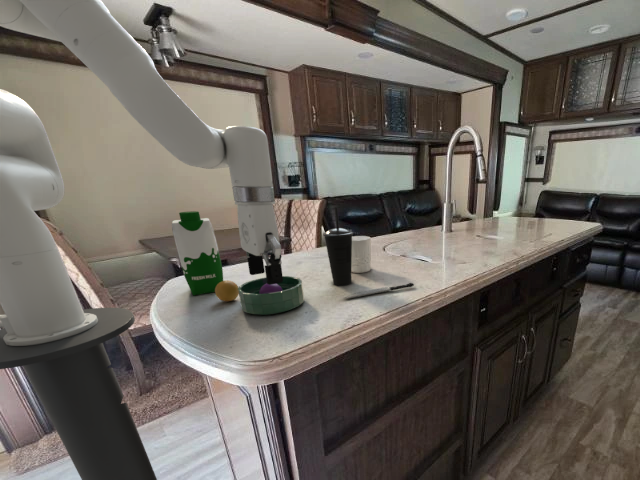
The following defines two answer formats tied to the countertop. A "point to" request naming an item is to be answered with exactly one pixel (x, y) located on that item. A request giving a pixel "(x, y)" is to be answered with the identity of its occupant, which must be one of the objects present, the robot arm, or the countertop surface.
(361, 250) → the white cup
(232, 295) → the ochre ball
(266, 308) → the bowl
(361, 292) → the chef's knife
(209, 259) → the milk carton
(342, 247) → the drinking cup
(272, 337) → the countertop surface
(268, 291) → the plum ball
